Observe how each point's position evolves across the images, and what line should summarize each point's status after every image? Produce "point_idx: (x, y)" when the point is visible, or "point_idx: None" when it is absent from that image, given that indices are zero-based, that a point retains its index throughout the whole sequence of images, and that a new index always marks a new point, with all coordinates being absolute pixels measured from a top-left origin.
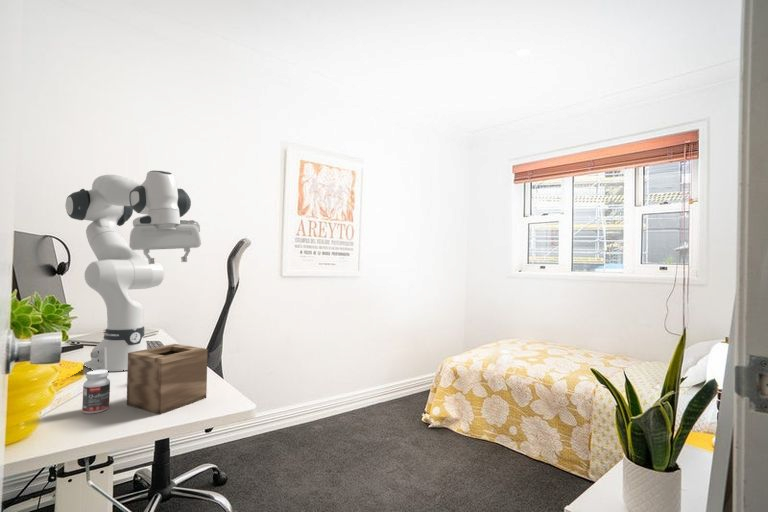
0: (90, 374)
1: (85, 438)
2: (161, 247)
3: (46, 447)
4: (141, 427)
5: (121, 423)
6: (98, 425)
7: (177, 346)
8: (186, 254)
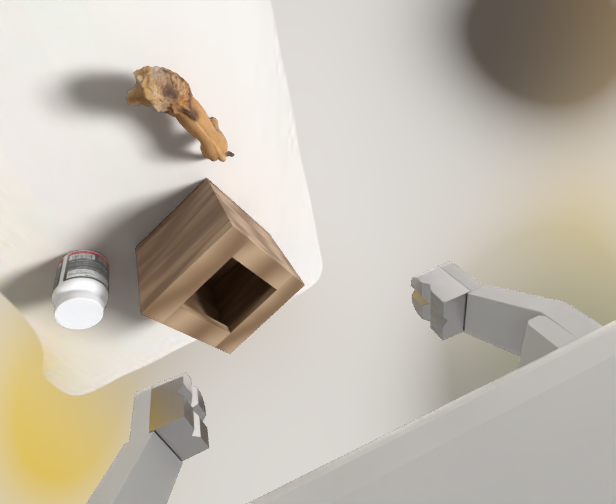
0: (74, 329)
1: (132, 353)
2: None
3: (94, 373)
4: None
5: None
6: (128, 321)
7: (243, 258)
8: (490, 338)
